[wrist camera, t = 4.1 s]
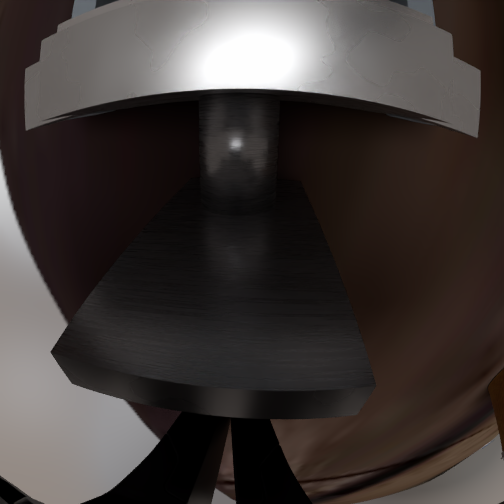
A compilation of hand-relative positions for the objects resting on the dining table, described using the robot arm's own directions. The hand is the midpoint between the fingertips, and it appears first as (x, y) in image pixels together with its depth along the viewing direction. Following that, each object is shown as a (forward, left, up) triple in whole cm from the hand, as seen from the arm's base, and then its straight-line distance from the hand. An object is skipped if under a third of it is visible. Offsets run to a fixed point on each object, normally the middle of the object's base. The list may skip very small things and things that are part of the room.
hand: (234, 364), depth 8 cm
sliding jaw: (0, -7, -5) cm, 9 cm away
